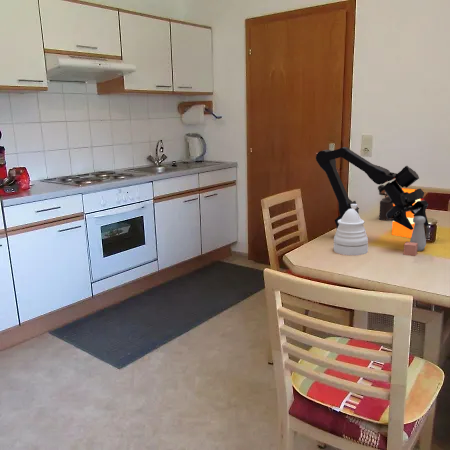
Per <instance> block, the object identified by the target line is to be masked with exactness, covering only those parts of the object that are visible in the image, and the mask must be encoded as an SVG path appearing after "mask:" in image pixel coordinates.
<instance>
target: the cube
mask: <svg viewBox="0 0 450 450" xmlns="http://www.w3.org/2000/svg"><path fill="white" fill-rule="evenodd" d="M417 248H418V243H413V242H410V241H406V242H405V243H404V244H403V255H405V256H414V257H415V256H416V255H417V254H418V251H417Z"/></svg>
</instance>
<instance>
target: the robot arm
mask: <svg viewBox="0 0 450 450" xmlns="http://www.w3.org/2000/svg"><path fill="white" fill-rule="evenodd" d="M315 155H316V156H315V161H316V162H317V164H318V165H319V167H320V168H321V169H322V170H323V171H324V172H325V174H326V176H327V179H328V181H329V183H330V186H331V188H332V190H333V193H334V195H335V198H336V199H337V203H338V212H339V216H338V217H336V218H335V219H334V223H335V225H336V228H335V229H336V231H337V228H338V226H339V223H338V220H340V219H342V217H343V215H344V214H345V212H346V211H347V210H348V209H352V208H351V204H357V201H356V200H353V201H352V200H351V199H350V197H349V196H348V192H346V189H345V186H344V183H343V182H342V179H341V176H340V173H339V172H338V170H337V166H336V165H337V164H336V163H337V161H336V160H337V159H339V158H342V159H344V160H346V161H347V162H348V163H350V164H352V165H353V166H354V167H356V168H358V169H359V170H361V171H363V172H364V173H365V174H366V175H367V176H368V178H369V179H370V180H371V181H372V182H373V183H375V184H376V185H378V186H380V185H384V186H380V190H378V194H379V193H385V194H387V195H388V196H389V198H390V199H391V202H390V203H391V204H394V205H395V206H393V207H392V208H391V209H390V210H389V211H388V212H387V213H386V216H387V218H388V219H389V220H391V219H392V221H391V222H393V221H395V222H397V223H399V224H401V225H403V226H404V227H406V228H408V229H410V230H412V229H413V227H412V225H411V223H410V221H409V220H408V218H407V216H406V212H409V211H411V213H413V214H414V215H413V216H414V217H415V216H423V217H425V223H424V227H428V226H429V225H430V224H429V221H428V218H427V213H426V210H427V208H428V206H429V205H430V204H429V203H428V201H427V200H425V199H424V196H425V192H424V190H422V188H417V189H416V190H415V191H414V192H411V193H408V192H404V191H403V190H402V188H405V189H408V188H409V187H410V186H411V185H413V184H414V183H415V182H417V180H420V176H419V174H418V173H417V172H416V170H414V169H413V168H411V167H410V166H408V165H405V166H404V167H403V168H402V169H401V170H400V171H398V172H391V171H390V170H389V169H387V168H385V167H383V166H380V165H378V164H373V163H371V162H370V161H369V160H367V159H366V158H363V157H362V156H360V155H359V154H357V153H356V152H354V151H353V150H352V149H350V148H349V147H347V146H344V147H340V148H338V149H333V150H331V149H324V150H319V151H318V152H317V153H316V154H315ZM388 196H387V197H388ZM422 198H423V199H424V200H421V201H417V202H416V201H415V200H418V199H422ZM415 202H416V203H415ZM414 203H415V204H414ZM412 204H414V205H412ZM359 209H360V208H359V207H358V206H357V208H356V209H355V210H356V212H357V213H358V214H359V213H360V212H359ZM359 215H360V214H359ZM336 231H335V232H336Z"/></svg>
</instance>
